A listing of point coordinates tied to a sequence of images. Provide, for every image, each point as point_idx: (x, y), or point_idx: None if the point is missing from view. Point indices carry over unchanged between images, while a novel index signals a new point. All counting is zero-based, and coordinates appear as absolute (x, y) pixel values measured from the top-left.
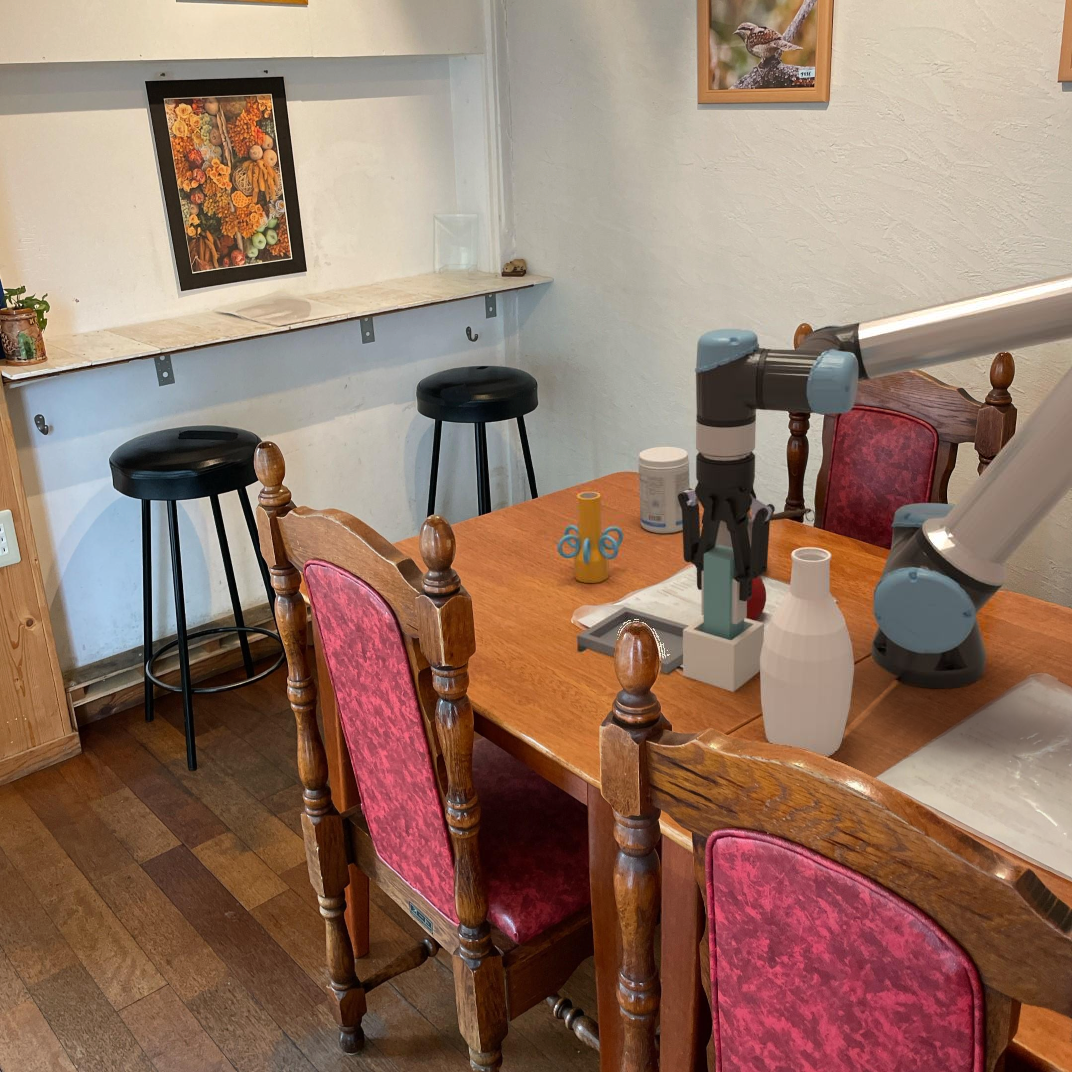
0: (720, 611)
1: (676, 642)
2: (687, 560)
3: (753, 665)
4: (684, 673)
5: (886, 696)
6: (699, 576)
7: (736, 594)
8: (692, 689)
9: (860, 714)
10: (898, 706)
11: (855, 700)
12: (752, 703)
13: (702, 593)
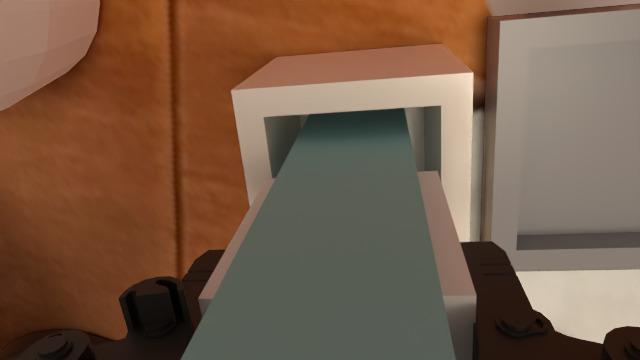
0: (321, 175)
1: (575, 197)
2: (636, 335)
3: None
4: (441, 47)
5: (50, 271)
6: (500, 286)
7: (229, 246)
8: (394, 23)
9: (30, 179)
10: (9, 251)
11: (77, 223)
12: (224, 67)
13: (446, 217)
